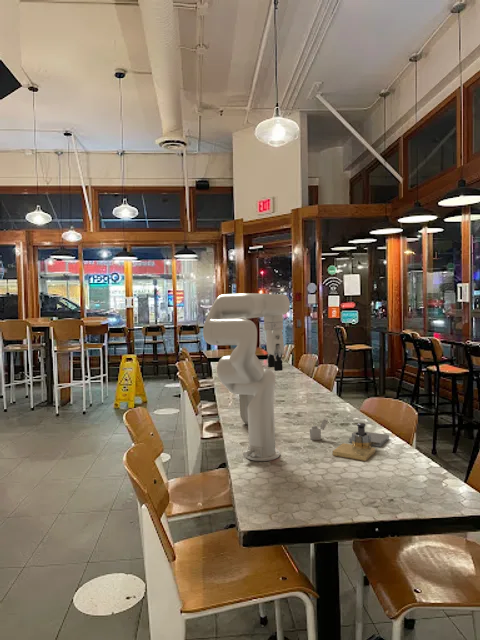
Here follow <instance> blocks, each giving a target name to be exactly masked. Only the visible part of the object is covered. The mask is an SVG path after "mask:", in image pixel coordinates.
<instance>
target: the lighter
mask: <svg viewBox="0 0 480 640" xmlns="http://www.w3.org/2000/svg"><path fill="white" fill-rule="evenodd" d="M328 422H329V420H328V419H326V418H323V420H322V422H321V425H320V426H319V427H318V425H312V426H311V427H309V440H310V441H311V440H312V441H314V440H315V441H316V440H322V434H321V433H322V431H321V430H323V431H324V430H325V429H326V426H327V424H328Z"/></svg>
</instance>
